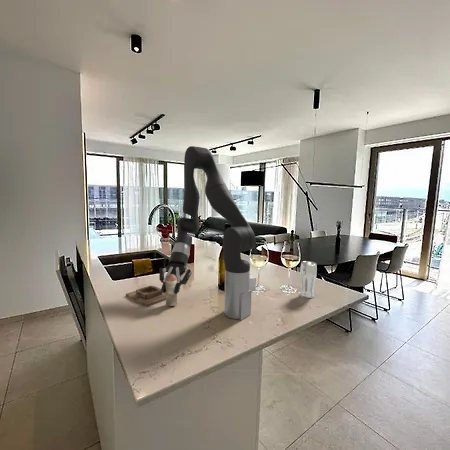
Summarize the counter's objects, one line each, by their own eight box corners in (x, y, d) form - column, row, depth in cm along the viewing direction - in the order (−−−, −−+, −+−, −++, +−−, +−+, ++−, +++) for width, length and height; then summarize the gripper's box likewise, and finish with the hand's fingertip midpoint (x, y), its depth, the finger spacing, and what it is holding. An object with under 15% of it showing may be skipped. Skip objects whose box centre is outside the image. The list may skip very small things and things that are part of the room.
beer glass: (314, 293, 119) (316, 261, 117) (315, 299, 112) (317, 266, 110) (298, 291, 121) (300, 260, 119) (298, 297, 114) (300, 264, 112)
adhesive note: (255, 290, 122) (256, 277, 122) (244, 291, 120) (244, 279, 119) (250, 285, 128) (250, 274, 127) (239, 287, 126) (239, 275, 125)
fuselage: (179, 303, 105) (178, 274, 103) (170, 306, 101) (170, 276, 100) (172, 300, 107) (172, 271, 106) (163, 303, 104) (163, 274, 103)
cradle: (172, 297, 112) (172, 290, 112) (146, 307, 103) (146, 299, 102) (151, 288, 123) (151, 281, 122) (125, 296, 113) (125, 289, 113)
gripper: (161, 250, 110) (149, 287, 100) (193, 251, 108) (184, 290, 98) (166, 259, 116) (155, 295, 106) (197, 260, 114) (189, 298, 103)
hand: (169, 292), depth 102 cm, fingers closed on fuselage, 4 cm apart
